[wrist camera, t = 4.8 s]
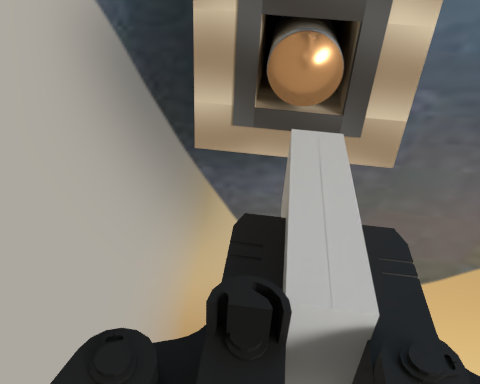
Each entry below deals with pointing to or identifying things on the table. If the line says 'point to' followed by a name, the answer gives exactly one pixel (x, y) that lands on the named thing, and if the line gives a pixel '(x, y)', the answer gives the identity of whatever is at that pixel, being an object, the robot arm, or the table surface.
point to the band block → (330, 110)
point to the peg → (304, 60)
